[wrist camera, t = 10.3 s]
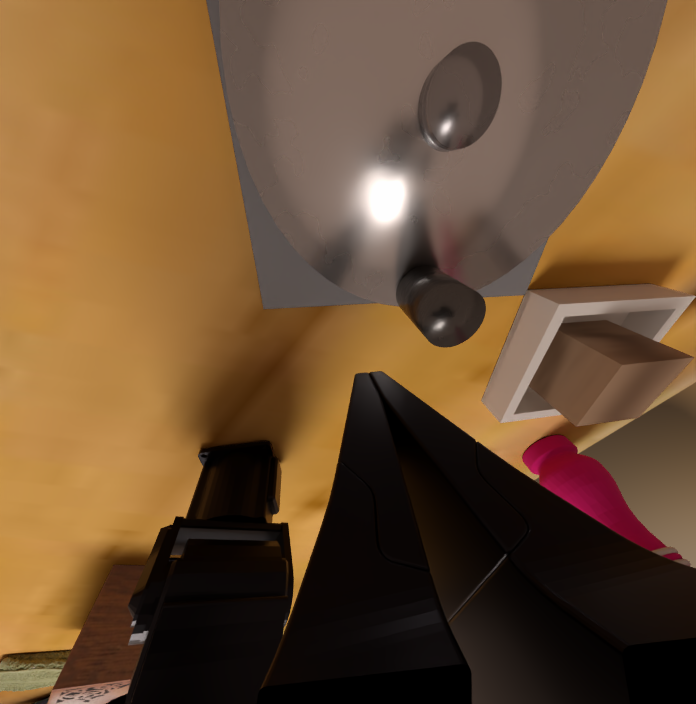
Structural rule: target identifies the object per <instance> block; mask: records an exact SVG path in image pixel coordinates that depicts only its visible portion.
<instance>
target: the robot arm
mask: <svg viewBox="0 0 696 704" xmlns="http://www.w3.org/2000/svg"><path fill="white" fill-rule="evenodd" d="M198 457H199V459H200V461H201V463H202V465H203V469H202V472H201V475H200V478H199V481H198V484H197V487H196V490H195V492H194V495H193V498H192V501H191V504H190V507H189V510H188V513H187V516H186V518H184V517H178V516H176V517H175V520H174V523H173V525H170V526H167V527H164V528H161V529H160V532H159V534H158V537H157V539H156V542H155V544H154V547H153V549H152V552H151V554H150V556H149V559H148V561H147V563H146V565H145V567H144V570H143V572H142V574H141V576H140V579H139V581H138V583H137V585H136V588H135V590H134V592H133V594H132V597H131V599H130V602H129V604H128V609H129V611H130V614H131V616H132V618H133V621H132V624H131V627H134V629H133V632H132V635H131V638H130V640H129V643H128V645H137V644H143V645H142V648H141V651H140V654H139V657H138V660H137V662H136V665H135V668H134V671H133V674H132V677H131V681H130V685H129V689H128V693H127V697H126V701H125V704H696V568H693V567H690V566H687V565H684V564H681V563H678V562H675V561H673V560H670V559H668V558H666V557H663V556H661V555H658V554H656V553H654V552H652V551H650V550H648V549H646V548H643V547H641V546H640V545H638V544H636V543H634V542H632V541H630V540H628V539H627V538H625V537H623V536H621V535H620V534H618V533H616V532H615V531H613V530H611V529H610V528H608V527H607V526H605V525H604V524H602V523H600V522H599V521H597V520H596V519H594V518H592V517H591V516H589V515H588V514H586V513H585V512H583V511H581V510H580V509H578V508H577V507H575V506H573V505H572V504H570V503H569V502H567V501H566V500H564V499H562V498H561V497H559V496H558V495H556V494H554V493H553V492H551V491H550V490H548V489H547V488H545V487H543V486H542V485H540V484H539V483H537V482H536V481H534V480H533V479H531V478H530V477H528V476H526V475H525V474H523V473H522V472H520V471H519V470H517V469H516V468H514V467H513V466H511V465H510V464H509V463H507V462H506V461H504V460H503V459H501V458H500V457H499V456H497V455H496V454H494V453H493V452H492V451H490V450H489V449H487V448H486V447H485V446H483V445H482V444H481V443H479V442H476V441H475V439H474V438H472V437H471V436H470V435H468V434H467V433H465V432H464V431H463V430H461V429H460V428H459V427H457V426H456V425H455V424H453V423H452V422H450V421H449V420H448V419H446V418H445V417H444V416H442V415H441V414H440V413H438V412H437V411H435V410H434V409H433V408H431V407H430V406H429V405H427V404H426V403H425V402H423V401H422V400H420V399H419V398H418V397H416V396H415V395H414V394H412V393H411V392H410V391H408V390H407V389H405V388H404V387H403V386H401V385H400V384H399V383H397V382H396V381H395V380H393V379H392V378H390V377H389V376H388V375H386V374H385V373H384V372H382V371H378V372H370V373H357V374H356V375H355V378H354V383H353V388H352V393H351V398H350V403H349V408H348V413H347V418H346V423H345V428H344V433H343V438H342V443H341V448H340V454H339V459H338V463H337V468H336V473H335V478H334V482H333V486H332V491H331V495H330V499H329V502H328V506H327V509H326V512H325V515H324V519H323V522H322V525H321V528H320V531H319V534H318V537H317V540H316V543H315V546H314V549H313V552H312V555H311V557H310V560H309V563H308V566H307V569H306V572H305V575H304V578H303V581H302V584H301V587H300V590H299V593H298V595H297V598H296V601H295V604H294V607H293V610H292V613H291V615H290V618H289V621H288V623H287V620H288V617H289V614H290V609H291V604H292V597H293V584H294V577H293V565H292V556H291V546H290V537H289V528H288V523H283V522H282V523H281V524H278V523H272V517H273V514H277V513H278V512H279V506H280V489H281V468H280V464H279V459H278V458H277V457H275V456H274V452H273V448H272V444H271V442H269V441H262V442H254V443H246V444H238V445H230V446H223V447H215V448H207V449H202V450H200V452H199V454H198ZM170 555H182V556H181V558H170ZM286 623H287V626H286V629H285V631H284V634H283V628H284V626H285V625H286ZM131 627H130V628H131Z"/></svg>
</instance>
